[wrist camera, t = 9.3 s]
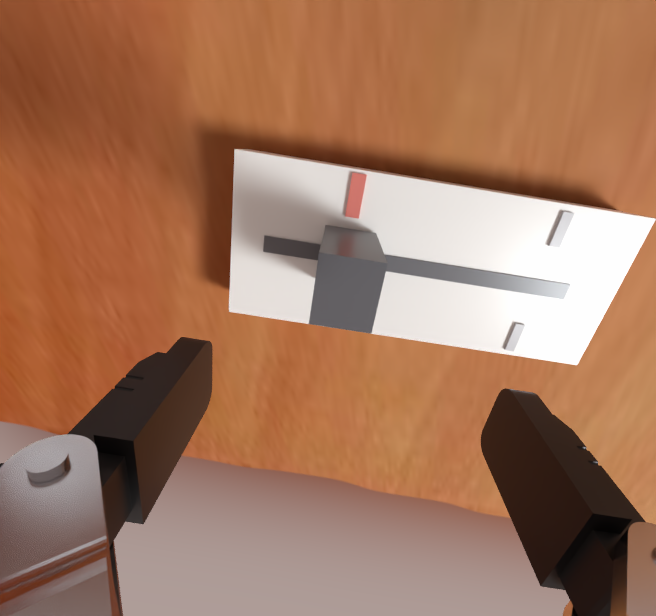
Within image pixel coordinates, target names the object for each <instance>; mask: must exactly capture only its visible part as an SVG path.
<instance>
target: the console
mask: <svg viewBox="0 0 656 616" xmlns="http://www.w3.org/2000/svg"><path fill="white" fill-rule="evenodd" d="M655 220H656V219H655V218H650V217H646V216H641V215H637V214H632V213H628V212H623V211H619V210H613V209H607V208H601V207H595V206H589V205H583V204H577V203H570V202H564V201H558V200H552V199H546V198H540V197H534V196H528V195H522V194H516V193H510V192H504V191H498V190H492V189H486V188H480V187H474V186H468V185H462V184H456V183H450V182H444V181H438V180H432V179H426V178H420V177H414V176H408V175H402V174H396V173H390V172H384V171H378V170H372V169H366V168H360V167H354V166H347V165H341V164H335V163H329V162H323V161H317V160H311V159H305V158H299V157H293V156H287V155H281V154H275V153H269V152H263V151H257V150H251V149H235V150H234V179H233V207H232V236H231V264H230V293H229V312H235V313H241V314H248V315H254V316H261V317H267V318H274V319H280V320H287V321H293V322H300V323H306V324H309V319H310V312H311V305H312V298H313V291H314V284H315V277H316V270H317V263H318V256H319V251H320V246H321V242H322V238H323V234H324V230H325V225H330V226H336V227H342V228H349V229H355V230H361V231H367V232H373V233H376V234H377V237H378V239H379V242H380V245H381V247H382V250H383V252H384V255H385V257H386V260H387V263H388V264H387V269H386V273H385V277H384V282H383V286H382V290H381V294H380V299H379V303H378V307H377V312H376V316H375V320H374V325H373V329H372V333H371V334H378V335H384V336H391V337H397V338H404V339H410V340H417V341H423V342H430V343H436V344H443V345H449V346H456V347H462V348H469V349H475V350H482V351H488V352H495V353H501V354H508V355H514V356H521V357H527V358H534V359H540V360H547V361H553V362H560V363H566V364H573V365H577V364H578V362H579V360H580V359H581V357H582V355H583V353H584V351H585V349H586V347H587V346H588V344H589V342H590V340H591V338H592V336H593V335H594V333H595V331H596V329H597V327H598V325H599V323H600V322H601V320H602V318H603V316H604V314H605V312H606V310H607V309H608V307H609V305H610V303H611V301H612V299H613V298H614V296H615V294H616V292H617V290H618V288H619V286H620V285H621V283H622V281H623V279H624V277H625V275H626V273H627V272H628V270H629V268H630V266H631V264H632V262H633V260H634V259H635V257H636V255H637V253H638V251H639V249H640V248H641V246H642V244H643V242H644V240H645V238H646V236H647V235H648V233H649V231H650V229H651V227H652V225H653V223H654V222H655Z"/></svg>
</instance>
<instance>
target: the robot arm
mask: <svg viewBox="0 0 656 616" xmlns="http://www.w3.org/2000/svg"><path fill="white" fill-rule="evenodd" d="M211 392H212V344H211V342H210V341H205V340H198V339H192V338H186V337H181V338H180V339H179V340H178V341H177V342H176V343H175V344H174V345H173V346H172V348H171V349H170V350H169V351H168V352H167V353H160V352H157V353H155V354H153V355H151V356H149V357H147V358H146V359H144V360H142V361H140V362H138V363H137V364H136V365H135V366H134V367H133V368H132V369H131V370H130V371H129V373H128V374H127V375H126V377H125V378H123V379H122V380H121V381H120V382H119V383H118V384H117V385H116V386H115V389H112V390H111V391H110V392H109V393H108V394H107V395H106V396H105V397H104V398H103V399H102V400H101V401H100V402H99V403H98V404H97V405H96V406H95V407H94V408H93V409H92V410H91V411H90V412H89V413H88V414H87V415H86V416H85V417H84V418H83V419H82V420H81V421H80V422H79V423H78V424H77V425H76V426H75V427H74V428H73V429H72V430H71V431H70V432H69V433H68V434H67V435H58V436H53V437H49V438H46V439H42V440H40V441H37V442H35V443H32V444H31V445H29V446H26V447H25V448H23V449H21V450H20V451H18V452H17V453H15V454H14V455H13V456H12V457H10V458H9V459H8V460H7V461H6V462H5V463H1V464H0V616H123V611H122V603H121V595H120V587H119V578H118V571H117V562H116V554H115V546H114V539H115V537H116V536H117V534H118V532H119V531H120V529H121V527H122V526H123V524H124V522H125V521H126V522H132V523H139V524H144V522H145V520H146V519H147V517H148V515H149V513H150V511H151V510H152V508H153V506H154V504H155V502H156V500H157V499H158V497H159V495H160V493H161V491H162V490H163V488H164V486H165V484H166V482H167V480H168V479H169V477H170V475H171V473H172V471H173V469H174V467H175V466H176V464H177V462H178V460H179V459H180V457H181V455H182V453H183V451H184V450H185V448H186V446H187V444H188V442H189V440H190V439H191V437H192V435H193V433H194V431H195V430H196V428H197V426H198V424H199V422H200V420H201V419H202V417H203V415H204V413H205V411H206V409H207V407H208V404H209V401H210V398H211ZM481 448H482V452H483V455H484V458H485V460H486V462H487V464H488V467H489V469H490V471H491V474H492V476H493V478H494V480H495V483H496V485H497V487H498V490H499V492H500V494H501V496H502V499H503V501H504V503H505V506H506V508H507V510H508V512H509V515H510V517H511V519H512V521H513V524H514V526H515V528H516V531H517V533H518V535H519V537H520V540H521V542H522V544H523V547H524V549H525V551H526V554H527V556H528V558H529V560H530V563H531V565H532V567H533V569H534V572H535V574H536V577H537V579H538V581H539V583H540V586H543V587H549V588H556V589H563V590H566V592H567V594H568V596H569V599H570V601H569V603H568V604H567V605H566V607H565V608H564V612H563V616H656V525H655V524H652V523H647V522H645V521H644V519H643V518H642V517H641V516H640V514H639V513H638V512H637V511H636V509H635V508H634V507H633V505H632V504H631V503H630V502H629V500H628V499H627V498H626V497H625V495H624V494H623V493H622V492H621V490H620V489H619V488H618V487H617V485H616V484H615V483H614V482H613V480H612V479H611V478H610V476H609V475H608V474H607V473H606V471H605V470H604V469H603V468H602V466H598V461H597V460H596V459H595V458H594V456H593V455H592V454H591V453H590V451H587V450H586V446H585V445H584V444H583V442H582V441H581V440H580V439H579V437H578V436H577V435H576V434H575V432H574V431H573V430H572V429H571V428H569V427H568V426H567V425H566V424H564V423H563V422H562V421H561V420H560V419H558V418H557V417H556V416H555V415H552V413H551V412H550V411H549V409H548V408H547V407H546V406H545V404H544V403H543V402H542V400H541V399H540V398H539V396H538V395H536V394H535V393H531V392H525V391H519V390H512V389H503V390H502V391H501V392H500V393H499V395H498V397H497V399H496V401H495V404H494V406H493V408H492V410H491V413H490V415H489V417H488V419H487V422H486V424H485V426H484V428H483V431H482V435H481Z"/></svg>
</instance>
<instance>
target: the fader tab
mask: <svg viewBox="0 0 656 616" xmlns="http://www.w3.org/2000/svg"><path fill="white" fill-rule="evenodd" d="M387 264H388V263H387V260H386V257H385V255H384V252H383V250H382V247H381V245H380V242H379V239H378V237H377V234H376V233H373V232H367V231H361V230H355V229H349V228H342V227H336V226H330V225H325V230H324V234H323V238H322V242H321V246H320V251H319V256H318V263H317V270H316V277H315V284H314V291H313V298H312V305H311V312H310V319H309V324H313V325H319V326H326V327H332V328H339V329H345V330H352V331H358V332H365V333H372V329H373V325H374V320H375V316H376V312H377V307H378V303H379V299H380V294H381V290H382V286H383V282H384V277H385V273H386V269H387Z"/></svg>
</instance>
